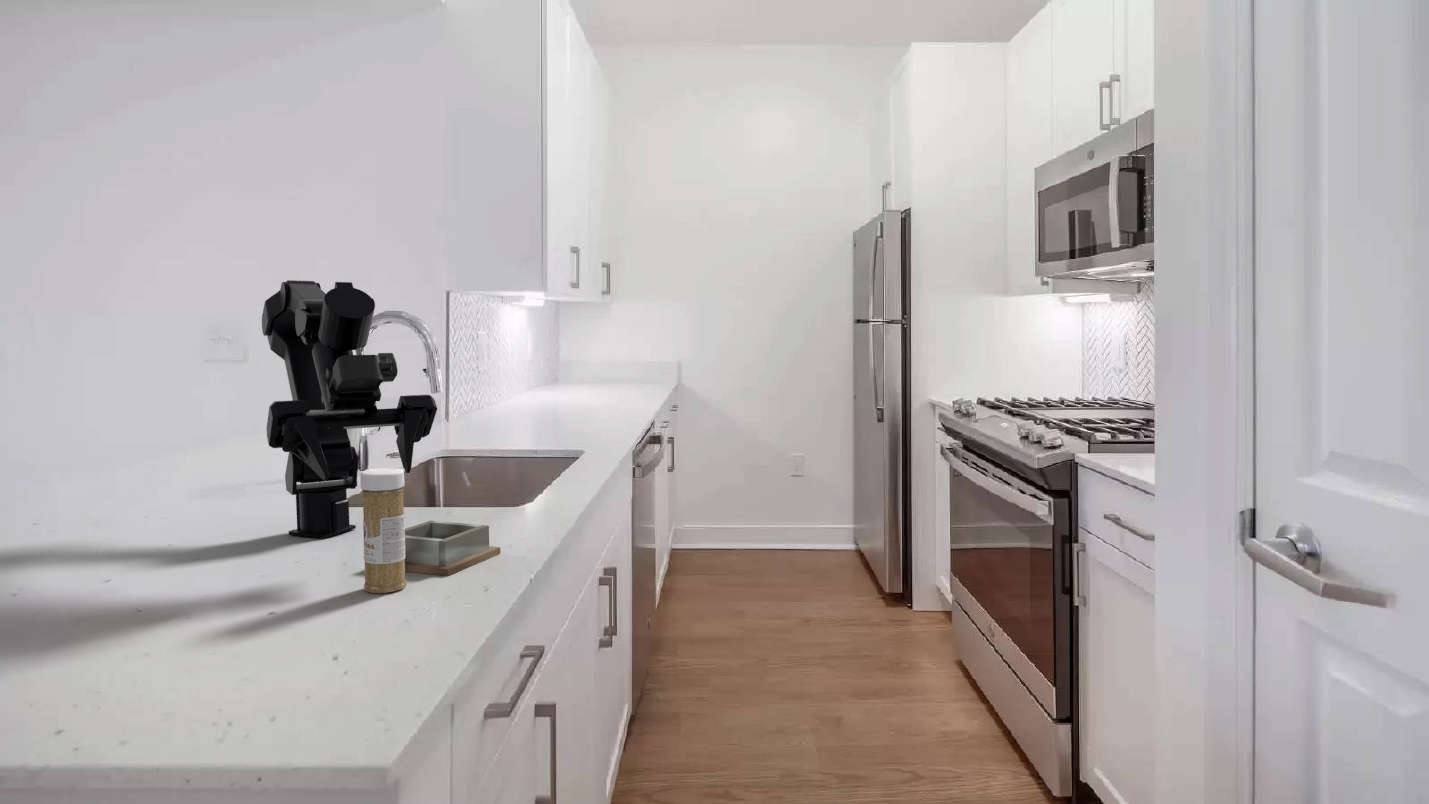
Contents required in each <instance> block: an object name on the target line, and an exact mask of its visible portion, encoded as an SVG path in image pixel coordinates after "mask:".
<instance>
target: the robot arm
mask: <svg viewBox="0 0 1429 804" xmlns="http://www.w3.org/2000/svg"><path fill="white" fill-rule="evenodd" d="M375 308H376V302H375V300H374V298H373V297H371V296H370V295H369V294H368V293H366V292H365V291H363V290H361V289H358V288H355V287H354V285H353V282H349V281H335V283H334V287H333V288H332V289H329V291H327V292H325V291H324V290H322V289H321V285H320V283H319V282H315V280H290V279H288V280H286V281H282V282H281V285H280V289H279V291H277V292H276V293H274V294H273V295H271V296H270V297H269V298H267V299H265V300H264V304H263V310H262V315H261V330H262V334H263V335H262V336H264V337H265V336H267V337H266V338H267V341H268V345H269V348H270V351H272V352H273V353H274V354H275V355H276V356H278V357H279V358H281V359H282V360H283V361H284V365H285V369H286V375H287V378H288V384H289V388H290V389H289V390H290V394H291V398H292V400H275V401H273V402H272V403H271V404H270V405H269V406H268V415H267V422H266V439H267V444H268V446H269V447H271V448H272V449H279V448H281V450H282V452H285V453H288V455H287V461H286V466H285V467H286V468H285V473H284V474H285V475H284V479H285V490H286V491H287V492H288V494H290V495H291V496H295V505H296V507H295V509H296V528H295V529H291V530H288V535H290V536H300V537H310V538H319V539H324V538H328V537H332V536H335V535H338V534H342V533H345V532H348V531H351V530H355V529H356V528H357V526H356V524H350V505H349V504H350V503H349V502H350V501H349V499H347V498H348V496H347V493H348V492H347V490H348V489H349V490H350V489H351V490H355V489H356V487H358V472H359V465H360V461H361V459H360V456H359V455H358V453H357V450H356V448H355V446H352V445H351V440H350V438H349V435H348V429H349V430H351V429H363V428H364V429H366V428H382V427H383V428H384V427H393V429H394V431H395V434H396V436H397V437H396V441H395V443H396V445H397V446H396V447H397V450H398V453H399V454H398V455H399V457H400V461H401V464H402V467H403V471H405V473H406V474H410V472H411V471H412V466H413V465H412V463H413V456H414V455H413V454H414V446H415V445H414V444H415V443H419V442H420V441H421V440H422V438H425V437H427V436H429V435H430V433H431V430H432V427H433V423H434V420H435V418H436V415H437V410H438V406H437V404H436V401H435V398H434V397H433V396H432V395H430V394H409V395H408V394H407V395H400V396H399V398H398V399H399V400H398V403H397V407H396V408H395V407H394V408H393V407H392V408H379V409H378V406H377V403H376V402H380V401H381V399H382V392H381V388H380V386H381V384H384V383H390V382H391V383H393V382H394V380H395V379H396V378H397V376H398V364H397V361H396V358H395V355H394V353H393V352H379V353H377V354H363V353H362V350H361V348H365V347H366V345H367V344H368V339H369V335H370V332H371V331H370V330H371V327H372V323H373V318H374V313H375ZM298 483H299V484H298Z"/></svg>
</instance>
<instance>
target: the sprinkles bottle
mask: <svg viewBox="0 0 1429 804" xmlns="http://www.w3.org/2000/svg"><path fill="white" fill-rule="evenodd" d="M404 471H405V470H404V469H401V468H396V467H381V468H380V467H379V468H372V469H366V470H363V471H362V472H361V473H360V477H359V479H360V488H361V492H362V493H361V494H362V506H363V507H362V509H363V512H362V513H363V519H362V526H363V528H362V529H363V560H364V580H365V581H364V584H363V588H364V590H365V592H368V593H372V594H387V593H393V592H397V591H401V590H402V589H404V588H405V587H406V586H407V580H406V571H405V529H406V528H405V527H406V526H405V525H406V524H405V512H404V511H405V510H404V509H405V508H404V490H405V488H404V487H405V472H404Z"/></svg>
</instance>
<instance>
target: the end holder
mask: <svg viewBox="0 0 1429 804" xmlns="http://www.w3.org/2000/svg"><path fill="white" fill-rule="evenodd" d="M500 554H501V547H500V546H493V545H490V525H488V524H487V525H486V524H474V523H466V522H465V523H463V522H453V521H452V522H451V521H442V520H440V521H439V520H428V521H424V522H422V523H419V524H416V525H415V524H414V525H413V526H409V527H407V528H405V572H409V573H418V574H429V575H436V576H444V577H448V576H452V575H453V574H456V573H458V572H461V571H463V570H466V569H467V568H470V567H472V566H474V565H477V564H479V563H481V562H484V561H487V560H488V559H491V558H493V557H496V556H498V555H500Z"/></svg>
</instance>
